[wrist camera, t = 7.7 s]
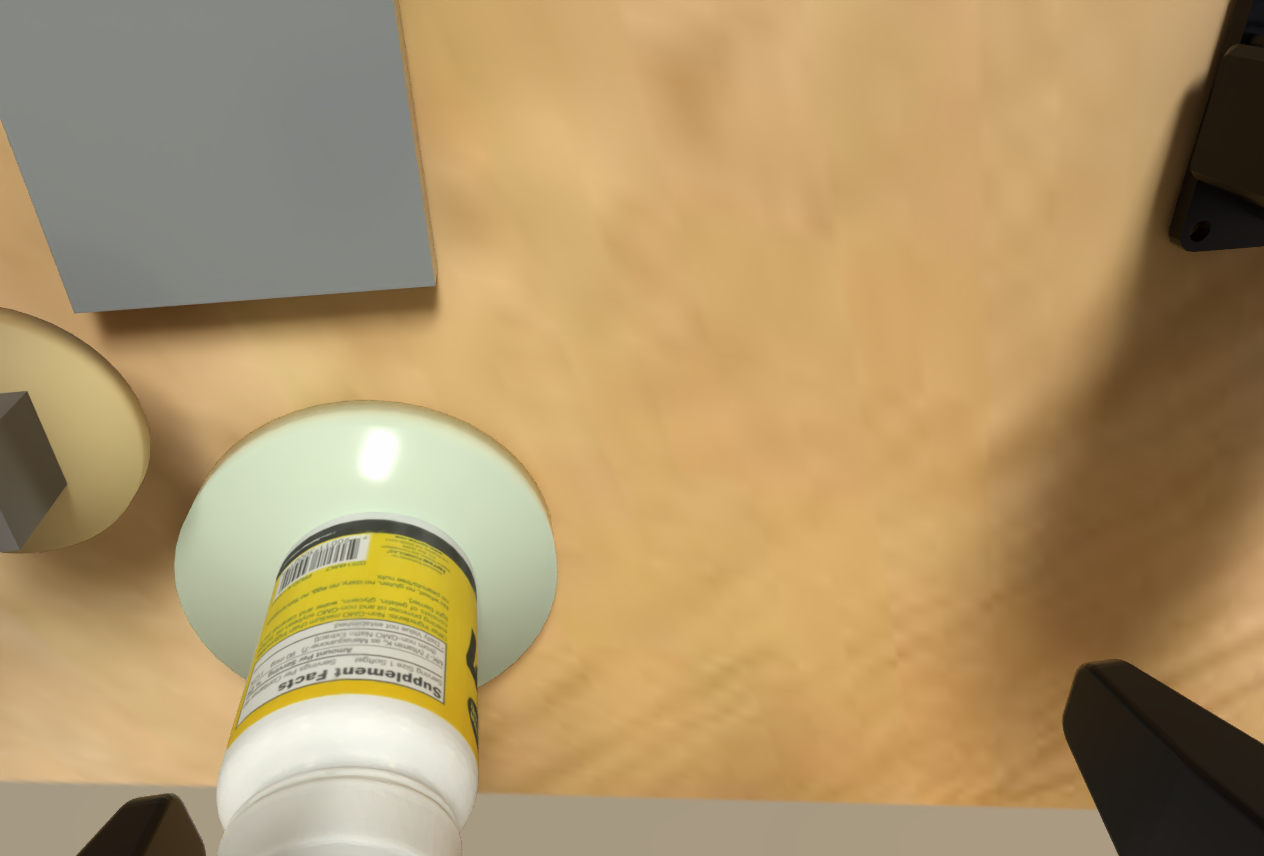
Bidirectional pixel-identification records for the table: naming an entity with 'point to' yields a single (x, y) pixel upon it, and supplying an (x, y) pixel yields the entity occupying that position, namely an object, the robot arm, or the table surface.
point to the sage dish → (355, 483)
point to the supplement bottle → (359, 699)
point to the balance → (63, 438)
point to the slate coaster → (217, 147)
